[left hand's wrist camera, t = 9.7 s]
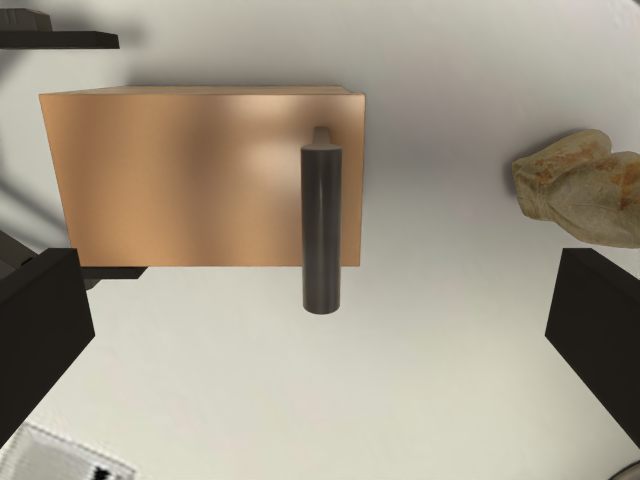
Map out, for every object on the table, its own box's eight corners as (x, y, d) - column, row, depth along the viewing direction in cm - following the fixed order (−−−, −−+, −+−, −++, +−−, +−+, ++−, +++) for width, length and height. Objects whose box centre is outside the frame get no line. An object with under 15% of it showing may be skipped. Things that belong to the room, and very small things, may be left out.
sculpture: (602, 189, 34) (799, 274, 20) (508, 218, 35) (634, 319, 21) (593, 114, 32) (805, 151, 18) (494, 147, 33) (622, 206, 19)
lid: (363, 93, 23) (388, 107, 15) (358, 258, 26) (375, 345, 18) (50, 92, 23) (-100, 107, 15) (85, 258, 26) (-22, 346, 18)
